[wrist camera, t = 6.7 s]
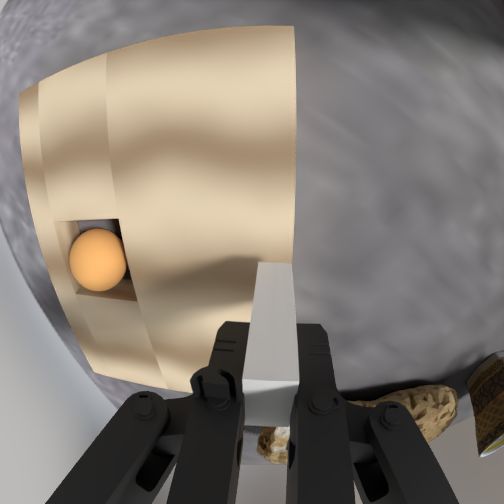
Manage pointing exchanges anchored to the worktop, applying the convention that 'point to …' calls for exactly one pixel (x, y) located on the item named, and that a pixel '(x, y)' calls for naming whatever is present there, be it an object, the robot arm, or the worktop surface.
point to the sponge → (415, 400)
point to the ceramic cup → (488, 403)
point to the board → (166, 189)
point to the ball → (98, 259)
